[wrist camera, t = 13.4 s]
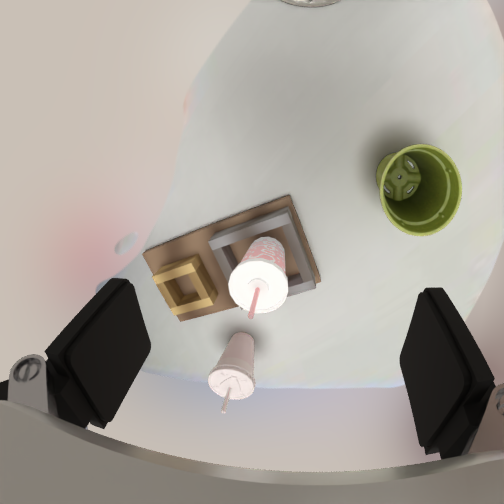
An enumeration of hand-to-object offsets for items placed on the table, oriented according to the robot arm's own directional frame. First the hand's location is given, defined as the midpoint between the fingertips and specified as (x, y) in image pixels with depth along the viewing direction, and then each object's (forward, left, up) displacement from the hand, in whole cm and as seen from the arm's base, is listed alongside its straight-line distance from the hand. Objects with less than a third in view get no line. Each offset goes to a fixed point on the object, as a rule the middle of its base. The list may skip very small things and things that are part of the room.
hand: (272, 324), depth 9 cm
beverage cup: (+9, -3, -28) cm, 30 cm away
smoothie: (+25, -8, -29) cm, 39 cm away
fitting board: (+12, -9, -29) cm, 32 cm away
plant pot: (0, +13, -29) cm, 32 cm away
